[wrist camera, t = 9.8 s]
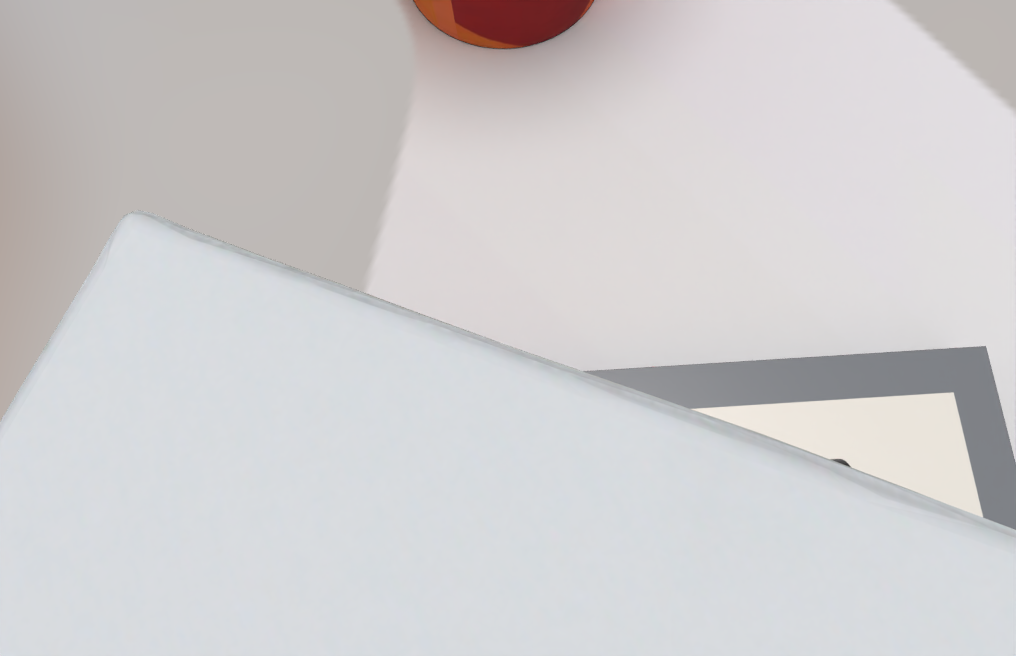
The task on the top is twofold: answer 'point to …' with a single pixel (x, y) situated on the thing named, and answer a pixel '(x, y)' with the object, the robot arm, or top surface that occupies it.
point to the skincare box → (428, 494)
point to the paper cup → (503, 19)
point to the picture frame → (866, 416)
